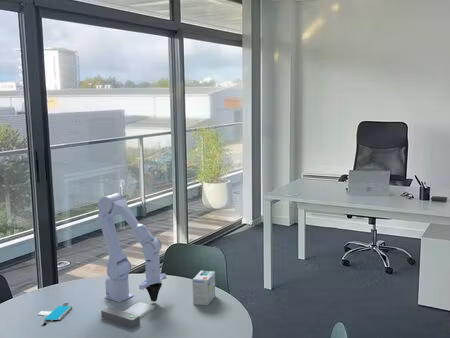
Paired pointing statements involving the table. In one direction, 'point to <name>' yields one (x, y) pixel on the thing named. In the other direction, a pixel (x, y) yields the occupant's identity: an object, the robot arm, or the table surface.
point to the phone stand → (56, 313)
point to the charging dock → (120, 317)
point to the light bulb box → (204, 287)
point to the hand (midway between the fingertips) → (153, 300)
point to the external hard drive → (140, 309)
